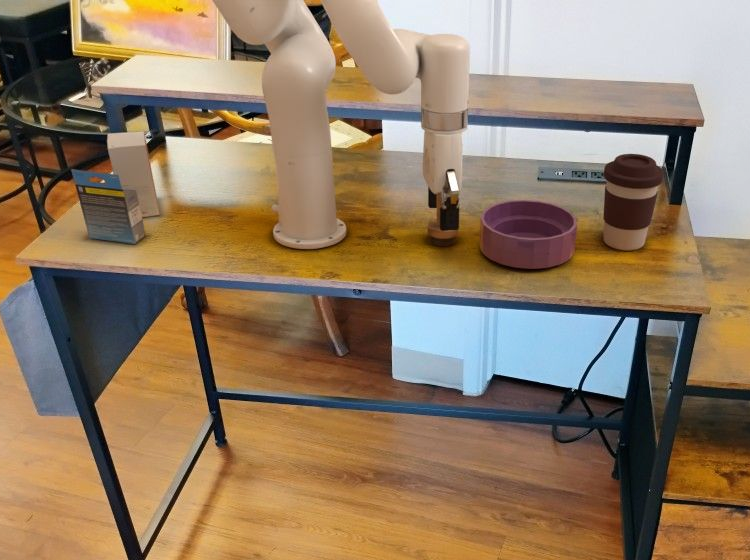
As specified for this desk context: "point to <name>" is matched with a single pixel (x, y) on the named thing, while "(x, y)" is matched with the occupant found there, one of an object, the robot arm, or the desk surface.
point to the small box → (134, 168)
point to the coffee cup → (630, 200)
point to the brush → (434, 230)
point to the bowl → (527, 234)
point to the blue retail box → (109, 208)
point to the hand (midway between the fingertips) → (443, 218)
